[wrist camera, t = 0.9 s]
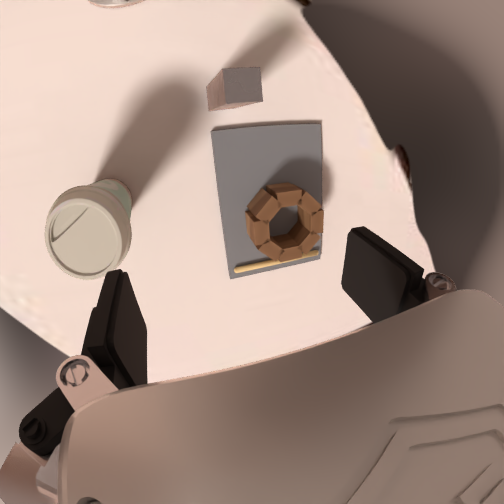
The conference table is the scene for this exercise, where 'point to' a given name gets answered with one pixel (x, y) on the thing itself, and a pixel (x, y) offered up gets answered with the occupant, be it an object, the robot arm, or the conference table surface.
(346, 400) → the robot arm
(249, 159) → the mat
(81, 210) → the coffee cup
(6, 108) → the conference table surface
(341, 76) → the conference table surface
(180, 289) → the conference table surface
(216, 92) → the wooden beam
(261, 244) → the brown wooden ring
